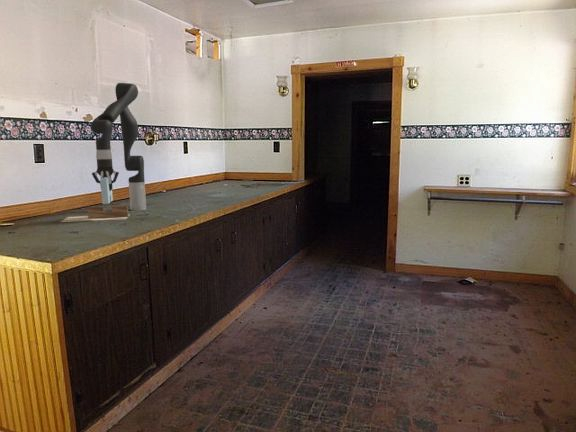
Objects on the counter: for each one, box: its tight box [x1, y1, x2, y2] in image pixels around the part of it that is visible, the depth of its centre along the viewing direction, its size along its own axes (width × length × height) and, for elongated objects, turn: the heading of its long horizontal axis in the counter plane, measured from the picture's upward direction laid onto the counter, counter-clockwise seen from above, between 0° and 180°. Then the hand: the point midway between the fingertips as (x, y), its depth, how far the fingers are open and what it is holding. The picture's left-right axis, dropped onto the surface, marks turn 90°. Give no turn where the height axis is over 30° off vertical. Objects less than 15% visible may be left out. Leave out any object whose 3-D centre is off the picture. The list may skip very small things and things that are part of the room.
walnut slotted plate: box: [87, 205, 129, 219], centre depth 232 cm, size 2×20×6 cm, turn 103°
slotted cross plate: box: [99, 177, 114, 205], centre depth 230 cm, size 14×3×13 cm, turn 13°
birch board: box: [60, 213, 131, 223], centre depth 232 cm, size 16×32×1 cm, turn 103°
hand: (106, 190), depth 230 cm, fingers closed on slotted cross plate, 3 cm apart
